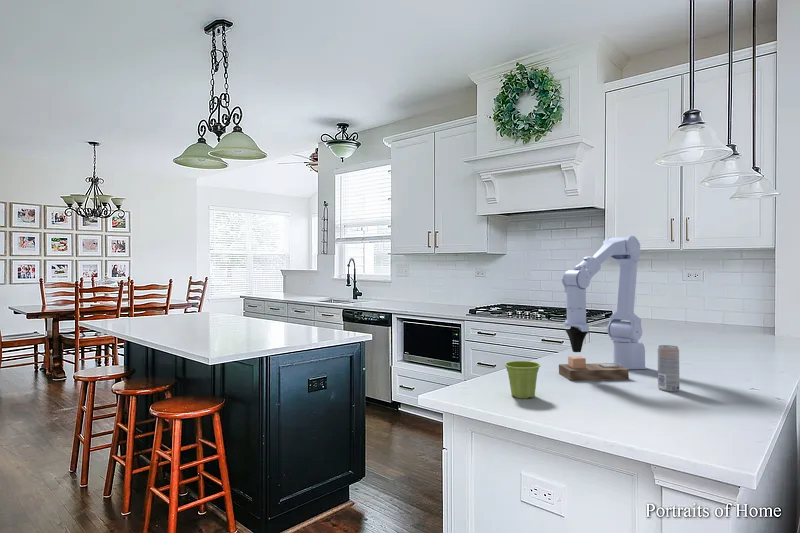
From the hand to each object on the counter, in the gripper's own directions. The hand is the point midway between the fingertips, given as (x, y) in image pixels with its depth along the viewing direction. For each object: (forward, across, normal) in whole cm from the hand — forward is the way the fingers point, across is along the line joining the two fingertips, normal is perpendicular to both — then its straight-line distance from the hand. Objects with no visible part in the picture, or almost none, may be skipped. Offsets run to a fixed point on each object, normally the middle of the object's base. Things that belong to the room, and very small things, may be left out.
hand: (576, 351), depth 162 cm
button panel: (+8, 0, +5) cm, 9 cm away
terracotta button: (+5, 0, 0) cm, 5 cm away
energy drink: (+8, +18, +19) cm, 27 cm away
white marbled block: (+7, 0, +10) cm, 12 cm away
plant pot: (+8, +21, -23) cm, 32 cm away
